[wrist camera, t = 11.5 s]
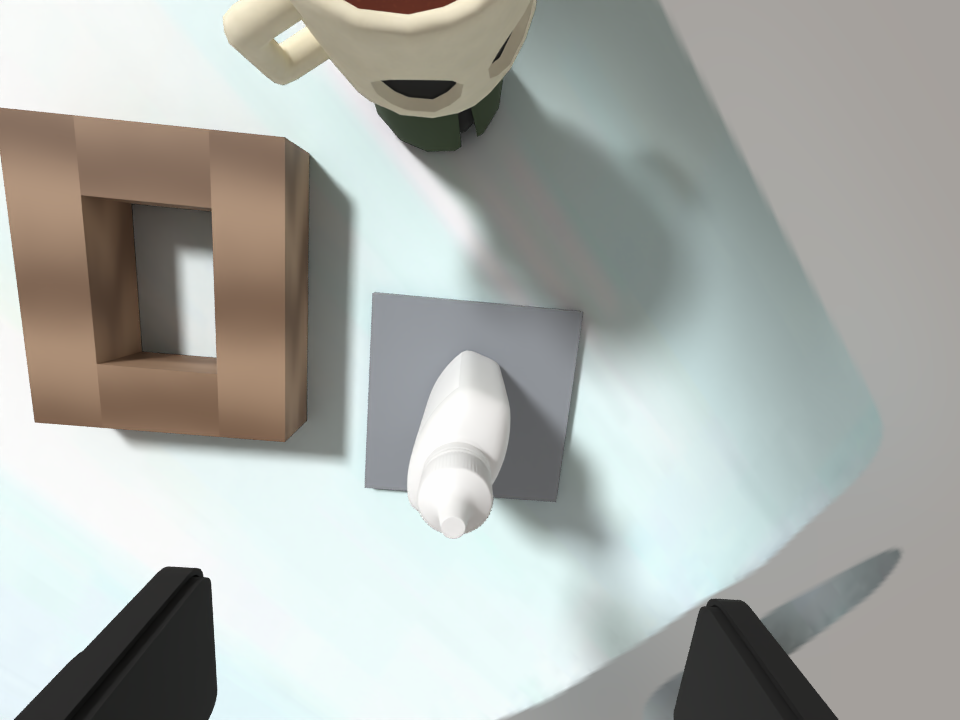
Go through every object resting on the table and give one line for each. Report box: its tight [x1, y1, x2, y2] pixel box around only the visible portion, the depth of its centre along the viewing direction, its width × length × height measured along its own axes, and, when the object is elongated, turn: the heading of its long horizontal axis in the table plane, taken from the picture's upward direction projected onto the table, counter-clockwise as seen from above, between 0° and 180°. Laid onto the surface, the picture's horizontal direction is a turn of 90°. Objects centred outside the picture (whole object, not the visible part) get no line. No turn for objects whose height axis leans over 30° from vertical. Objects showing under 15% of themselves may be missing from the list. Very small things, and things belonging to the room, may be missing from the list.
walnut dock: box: [0, 108, 309, 442], centre depth 22 cm, size 14×12×3 cm
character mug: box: [223, 0, 537, 152], centre depth 15 cm, size 11×7×13 cm, turn 120°
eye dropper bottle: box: [407, 350, 510, 539], centre depth 19 cm, size 4×6×12 cm
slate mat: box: [365, 292, 583, 502], centre depth 25 cm, size 11×11×1 cm
